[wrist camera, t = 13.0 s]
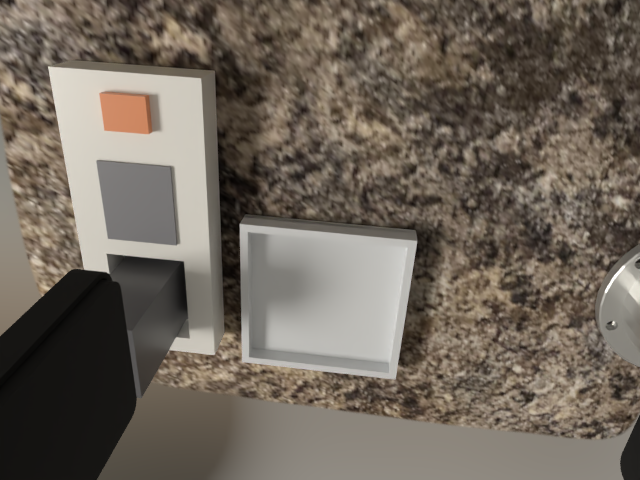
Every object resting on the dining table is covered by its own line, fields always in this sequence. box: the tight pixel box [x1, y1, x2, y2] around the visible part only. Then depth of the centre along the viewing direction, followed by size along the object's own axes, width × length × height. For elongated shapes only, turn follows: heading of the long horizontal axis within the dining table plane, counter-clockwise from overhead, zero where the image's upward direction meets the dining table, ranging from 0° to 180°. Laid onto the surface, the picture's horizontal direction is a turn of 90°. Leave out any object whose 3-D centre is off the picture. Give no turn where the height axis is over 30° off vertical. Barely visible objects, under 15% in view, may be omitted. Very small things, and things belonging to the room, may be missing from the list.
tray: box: [240, 214, 417, 379], centre depth 41 cm, size 13×13×2 cm
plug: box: [110, 256, 188, 398], centre depth 38 cm, size 4×6×10 cm
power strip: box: [48, 60, 225, 355], centre depth 39 cm, size 10×22×4 cm, turn 177°
